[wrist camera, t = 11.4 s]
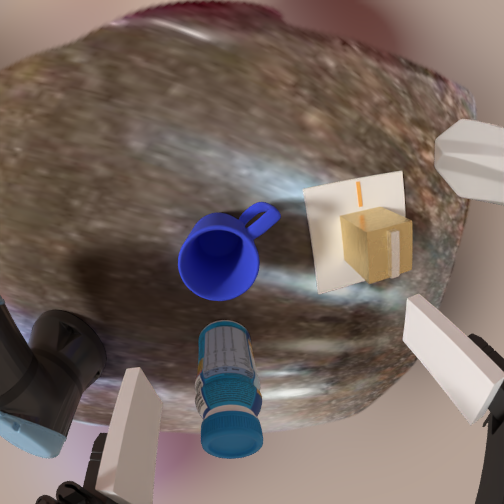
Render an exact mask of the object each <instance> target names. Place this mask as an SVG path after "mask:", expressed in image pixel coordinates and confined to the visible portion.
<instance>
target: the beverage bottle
mask: <svg viewBox="0 0 504 504" xmlns="http://www.w3.org/2000/svg"><path fill="white" fill-rule="evenodd" d="M198 345H199V357H198V373H197V377H196V380H195V391H196V394H197V395H196V398H195V403H196V407H197V410H198V412H199V414H200V416H201V417H202V419H203V422H202V425H201V444H202V447H203V449H204V450H205V451H206V452H207V453H208V454H210V455H213V456H216V457H219V458H227V459H234V458H242V457H246V456H249V455H252V454H254V453H256V452H257V451H258V450H259V449H260V448H261V447H262V445H263V435H262V429H261V425H260V421H259V420H258V418H257V416H258V414H259V412H260V409H261V406H262V396H261V393H260V380H259V377H258V375H257V371H256V366H255V361H254V356H253V351H252V346H251V338H250V335H249V333H248V331H247V330H246V328H245V327H243V326H242V325H241V324H239V323H237V322H234V321H230V320H220V321H215V322H213V323H210V324H209V325H207V326H206V327H205V328H204V329H203V330H202V332H201V333H200V336H199V342H198Z"/></svg>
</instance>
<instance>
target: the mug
mask: <svg viewBox="0 0 504 504" xmlns="http://www.w3.org/2000/svg"><path fill="white" fill-rule="evenodd" d="M261 212H265V213H264V214H263V215H262V216H261V217H260V218H259V219H258V220H256V221H255V222H254V223H253V224H252V225H251V226H249V227H247V228H245V225H246V223H248V222H249V221H250V220H251V219H252V218H253V217H254V216H256V215H257V214H259V213H261ZM280 218H281V214H280V213H279V211H278V210H277V209H276V208H275V207H274V206H272V205H270V204H268V203H266V202H258V203H255V204H253V205H252V206H250V207H249V208H248V209H247V210H246V211H245V212H244V213H243V214H242V215H241V216H240V218H239V220H238V219H236V218H234V217H233V216H231V215H228V214H225V213H212V214H209V215H206V216H204V217H203V218H201V219H200V220H199V221H198V222H197V223H196V225H195V226H194V228H193V229H192V231H191V233H190V234H189V236H188V237H187V239H186V241H185V242H184V244H183V246H182V248H181V250H180V253H179V257H178V269H179V273H180V276H181V278H182V280H183V282H184V283H185V285H186V286H187V287H188V288H189V289H190V290H191V291H192V292H193V293H195V294H196V295H198V296H200V297H202V298H205V299H208V300H213V301H225V300H230V299H233V298H236V297H238V296H240V295H241V294H243V293H244V292H246V291H247V290H248V289H249V288H250V287H251V286H252V284H253V283H254V281H255V279H256V277H257V275H258V271H259V263H260V261H259V254H258V251H257V248H256V246H255V244H254V239H255V238H257V237H259V236H260V235H262V234H263V233H264V232H266V231H267V230H268V229H269V228H270V227H272V226H273V225H274V224H275V223H276V222H277V221H278V220H279V219H280Z"/></svg>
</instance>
